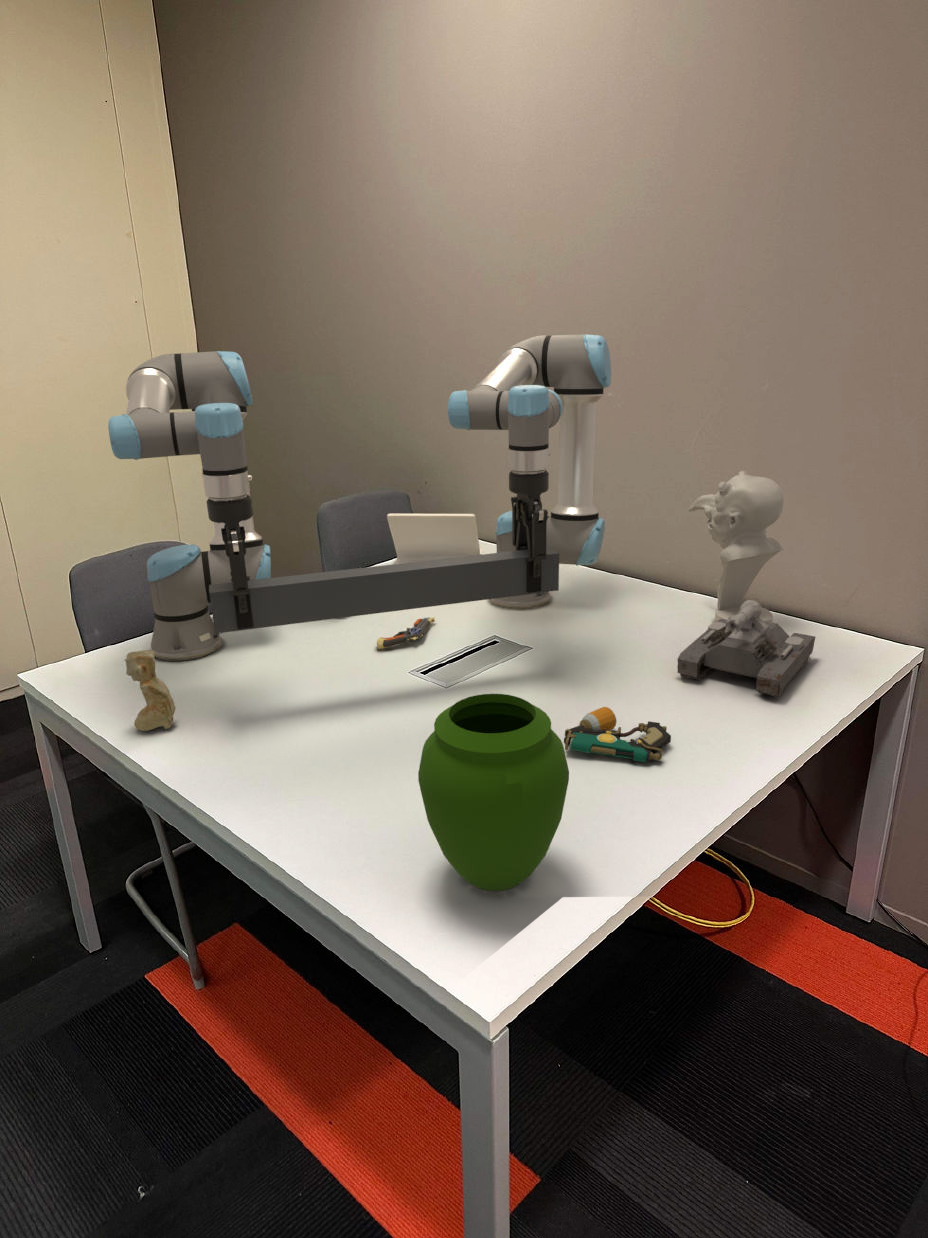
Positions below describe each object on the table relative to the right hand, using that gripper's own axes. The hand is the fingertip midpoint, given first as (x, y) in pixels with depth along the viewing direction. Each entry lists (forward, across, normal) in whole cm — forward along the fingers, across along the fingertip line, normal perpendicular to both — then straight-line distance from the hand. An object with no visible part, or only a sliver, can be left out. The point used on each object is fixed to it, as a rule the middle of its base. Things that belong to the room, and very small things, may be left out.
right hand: (529, 587), depth 169 cm
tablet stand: (+20, +81, -2) cm, 84 cm away
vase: (+19, -59, +28) cm, 68 cm away
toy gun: (+19, +30, +19) cm, 40 cm away
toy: (+19, -13, -43) cm, 49 cm away
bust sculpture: (+20, +12, -55) cm, 59 cm away
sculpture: (+19, +2, +73) cm, 76 cm away
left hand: (0, 0, +55) cm, 55 cm away
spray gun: (+19, -33, -4) cm, 39 cm away
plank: (0, 0, +28) cm, 28 cm away
